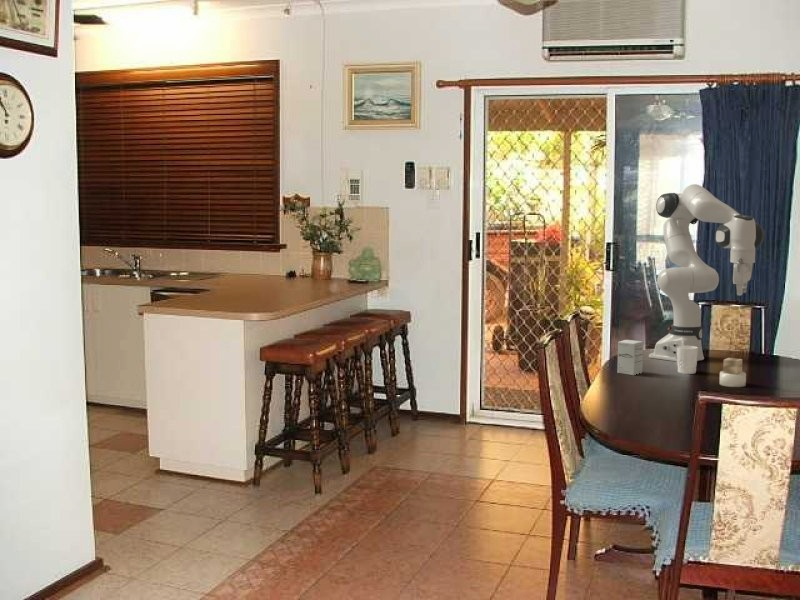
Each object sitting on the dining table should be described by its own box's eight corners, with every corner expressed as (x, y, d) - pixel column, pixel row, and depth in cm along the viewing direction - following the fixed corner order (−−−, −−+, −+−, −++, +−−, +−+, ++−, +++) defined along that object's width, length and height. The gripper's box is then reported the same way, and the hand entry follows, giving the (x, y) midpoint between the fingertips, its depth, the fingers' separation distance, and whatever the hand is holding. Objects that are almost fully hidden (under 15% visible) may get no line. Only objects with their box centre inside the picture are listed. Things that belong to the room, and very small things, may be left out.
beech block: (723, 373, 320) (723, 359, 320) (728, 371, 324) (728, 357, 323) (737, 374, 317) (737, 361, 316) (742, 372, 321) (742, 359, 320)
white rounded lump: (715, 385, 320) (715, 373, 320) (725, 381, 327) (725, 369, 327) (740, 388, 314) (740, 376, 314) (749, 384, 321) (749, 372, 321)
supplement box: (616, 373, 344) (617, 341, 343) (626, 370, 349) (626, 339, 348) (633, 375, 339) (634, 343, 338) (643, 372, 344) (643, 341, 343)
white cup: (698, 371, 346) (699, 346, 345) (696, 374, 339) (696, 349, 338) (677, 369, 349) (678, 345, 348) (674, 373, 342) (675, 348, 341)
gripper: (747, 259, 323) (746, 297, 325) (755, 256, 341) (754, 291, 342) (729, 259, 326) (728, 296, 328) (738, 256, 344) (737, 291, 345)
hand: (741, 294), depth 335 cm, fingers open, 8 cm apart
